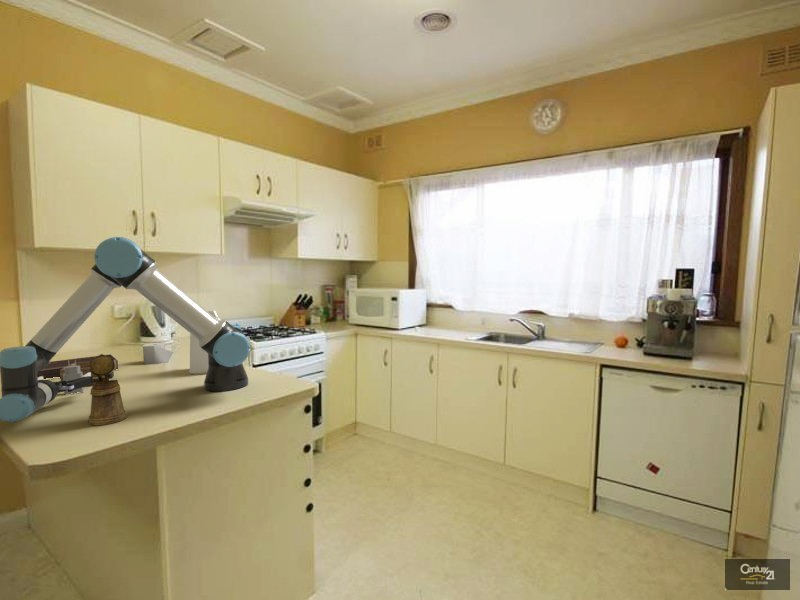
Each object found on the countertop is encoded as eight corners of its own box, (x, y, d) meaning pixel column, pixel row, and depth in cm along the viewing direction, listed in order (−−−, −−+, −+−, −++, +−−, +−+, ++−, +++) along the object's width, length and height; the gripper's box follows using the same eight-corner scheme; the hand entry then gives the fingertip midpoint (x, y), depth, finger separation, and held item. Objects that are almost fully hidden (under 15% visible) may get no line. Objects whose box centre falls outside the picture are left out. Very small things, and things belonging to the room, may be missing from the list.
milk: (230, 367, 186) (227, 309, 184) (216, 373, 174) (213, 311, 173) (205, 367, 187) (202, 309, 185) (189, 373, 175) (186, 312, 174)
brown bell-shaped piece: (122, 409, 129) (119, 351, 128) (128, 420, 119) (124, 358, 118) (87, 415, 123) (83, 356, 122) (90, 428, 113) (85, 363, 112)
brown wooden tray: (31, 383, 165) (30, 371, 164) (30, 375, 179) (29, 364, 178) (118, 370, 184) (117, 359, 184) (111, 364, 198) (110, 354, 198)
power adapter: (64, 393, 148) (62, 360, 147) (83, 390, 151) (81, 358, 150) (64, 395, 145) (61, 361, 145) (83, 392, 149) (81, 359, 148)
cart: (105, 384, 159) (104, 366, 159) (61, 388, 154) (59, 370, 154) (116, 376, 172) (115, 359, 172) (76, 379, 167) (74, 362, 167)
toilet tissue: (171, 363, 197) (170, 345, 197) (140, 364, 194) (139, 346, 194) (177, 359, 206) (176, 342, 205) (147, 361, 203) (146, 343, 202)
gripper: (-15, 412, 120) (22, 393, 140) (88, 401, 129) (109, 384, 149) (-18, 386, 120) (20, 371, 139) (86, 377, 128) (108, 364, 148)
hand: (66, 378), depth 144 cm, fingers open, 13 cm apart
